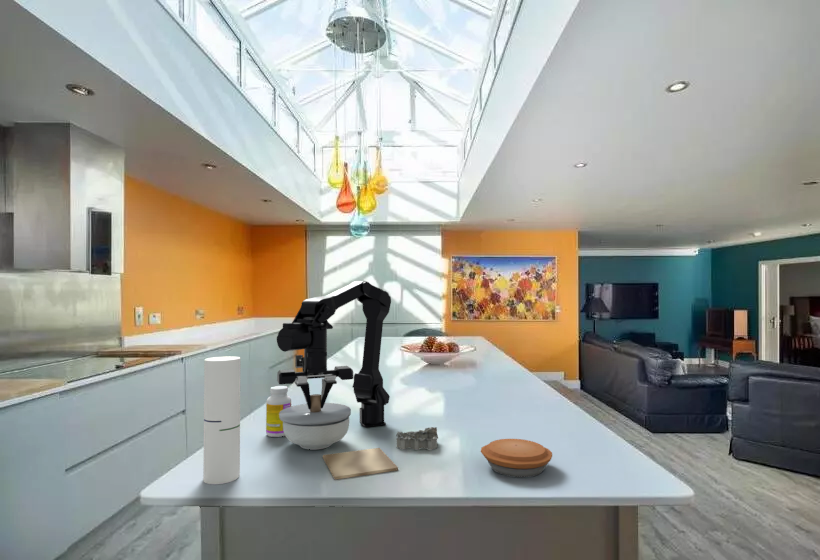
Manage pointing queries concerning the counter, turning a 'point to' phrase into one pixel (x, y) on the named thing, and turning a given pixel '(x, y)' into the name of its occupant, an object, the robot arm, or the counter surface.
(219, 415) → the cylindrical container
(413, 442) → the egg carton
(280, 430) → the supplement bottle
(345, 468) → the plate
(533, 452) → the pie
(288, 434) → the cereal bowl
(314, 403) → the lid
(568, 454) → the counter surface
